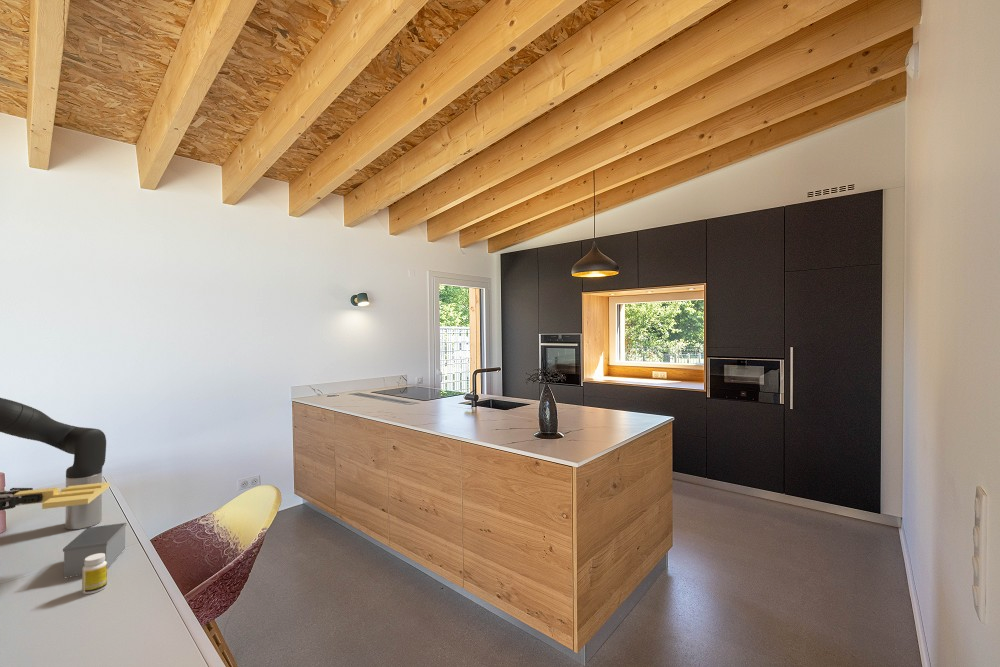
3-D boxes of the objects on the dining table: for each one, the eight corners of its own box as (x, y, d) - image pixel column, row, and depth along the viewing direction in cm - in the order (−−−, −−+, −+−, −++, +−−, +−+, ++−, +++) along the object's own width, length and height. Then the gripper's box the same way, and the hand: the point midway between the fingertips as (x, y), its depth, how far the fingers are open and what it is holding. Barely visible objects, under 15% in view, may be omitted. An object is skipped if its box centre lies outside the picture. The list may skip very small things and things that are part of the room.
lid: (31, 495, 129) (31, 484, 129) (109, 487, 136) (109, 477, 136) (-1, 513, 116) (0, 502, 116) (87, 503, 123) (87, 492, 123)
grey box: (87, 554, 134) (87, 527, 134) (126, 548, 138) (126, 522, 138) (62, 578, 121) (62, 548, 121) (106, 571, 124) (106, 542, 124)
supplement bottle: (111, 586, 117) (111, 554, 117) (89, 596, 113) (90, 562, 113) (99, 583, 119) (99, 551, 119) (77, 592, 114) (77, 559, 114)
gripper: (-62, 499, 112) (31, 490, 118) (-23, 481, 125) (58, 474, 131) (-62, 529, 112) (31, 518, 118) (-23, 508, 125) (58, 500, 131)
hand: (45, 495), depth 125 cm, fingers closed on lid, 3 cm apart
